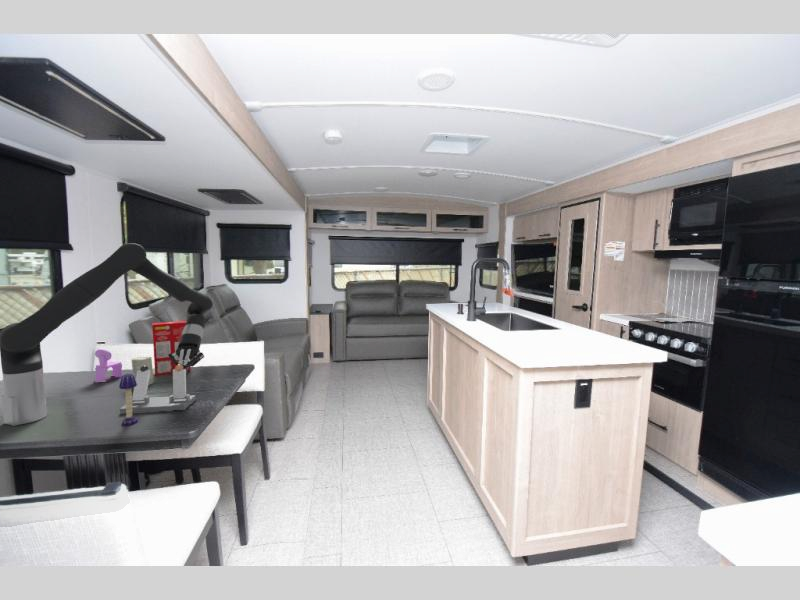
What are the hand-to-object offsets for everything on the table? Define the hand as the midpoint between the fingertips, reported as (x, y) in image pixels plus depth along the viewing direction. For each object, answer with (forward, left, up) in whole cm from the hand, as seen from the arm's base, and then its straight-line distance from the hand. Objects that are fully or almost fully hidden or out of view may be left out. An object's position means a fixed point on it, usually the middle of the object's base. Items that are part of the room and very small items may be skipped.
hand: (180, 375), depth 130 cm
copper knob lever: (-2, -1, -9) cm, 9 cm away
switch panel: (-5, +5, -11) cm, 13 cm away
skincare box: (+9, +36, -11) cm, 39 cm away
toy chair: (+8, +58, -11) cm, 60 cm away
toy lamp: (-18, +1, -11) cm, 21 cm away
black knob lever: (-9, +11, -9) cm, 17 cm away
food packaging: (+27, +42, -11) cm, 51 cm away
